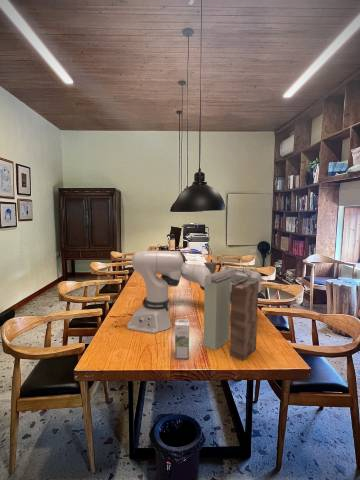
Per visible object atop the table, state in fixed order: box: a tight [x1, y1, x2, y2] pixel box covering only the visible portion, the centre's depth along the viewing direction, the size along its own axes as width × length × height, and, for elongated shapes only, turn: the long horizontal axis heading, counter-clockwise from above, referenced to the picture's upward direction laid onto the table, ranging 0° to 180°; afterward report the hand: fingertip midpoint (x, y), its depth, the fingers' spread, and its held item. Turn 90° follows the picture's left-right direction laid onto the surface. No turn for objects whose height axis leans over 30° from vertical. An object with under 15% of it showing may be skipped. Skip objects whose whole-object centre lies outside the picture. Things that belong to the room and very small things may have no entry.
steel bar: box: [205, 267, 238, 284], centre depth 124 cm, size 22×3×3 cm, turn 141°
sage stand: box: [203, 276, 231, 351], centre depth 123 cm, size 12×6×30 cm, turn 140°
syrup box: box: [174, 319, 190, 360], centre depth 113 cm, size 6×6×14 cm
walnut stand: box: [229, 279, 259, 361], centre depth 115 cm, size 12×6×30 cm, turn 140°
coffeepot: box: [203, 259, 223, 274], centre depth 236 cm, size 15×9×18 cm, turn 70°
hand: (234, 268), depth 132 cm, fingers open, 8 cm apart
